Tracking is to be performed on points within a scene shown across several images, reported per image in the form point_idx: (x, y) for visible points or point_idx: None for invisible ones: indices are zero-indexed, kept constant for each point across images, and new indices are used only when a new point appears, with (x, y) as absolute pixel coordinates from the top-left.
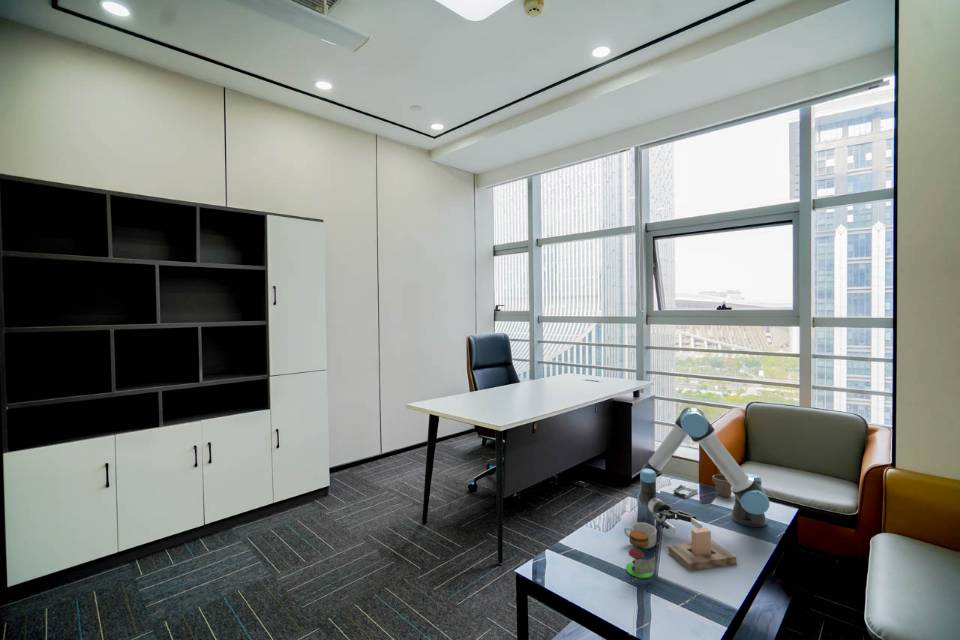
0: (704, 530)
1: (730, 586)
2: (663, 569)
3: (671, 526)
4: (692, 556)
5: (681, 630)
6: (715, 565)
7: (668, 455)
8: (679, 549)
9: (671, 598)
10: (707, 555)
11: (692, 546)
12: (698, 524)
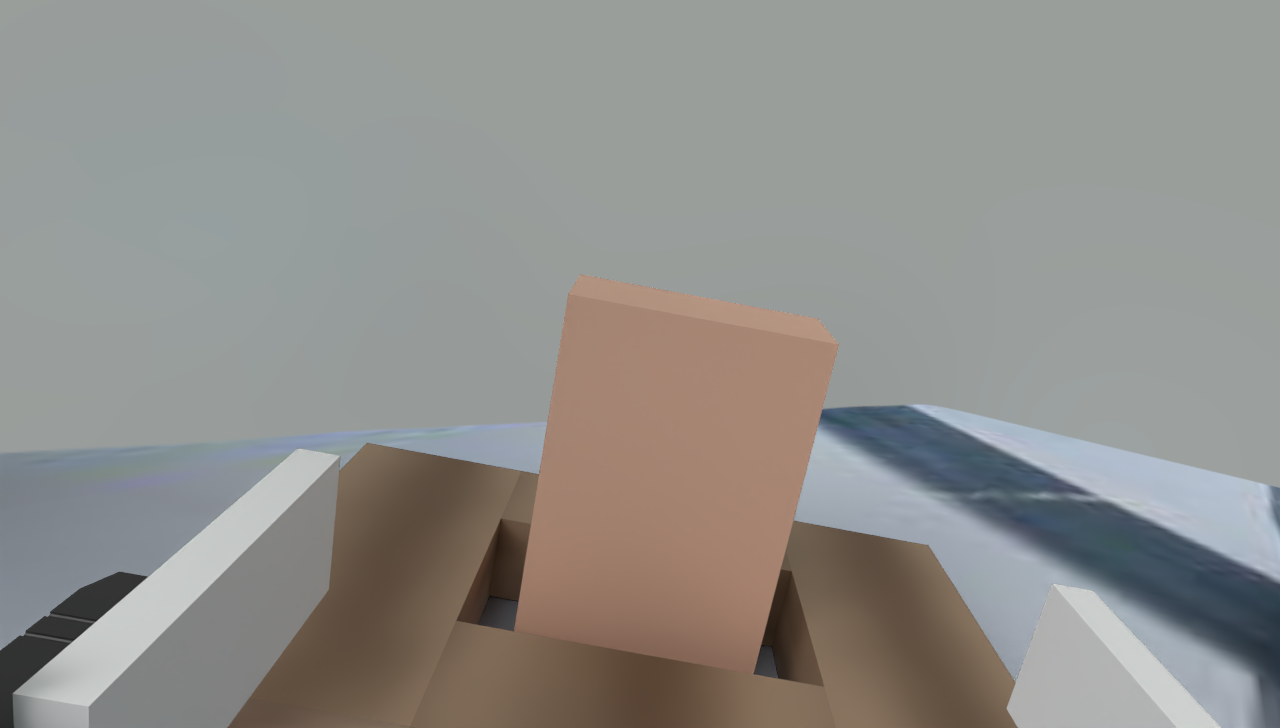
0: (655, 294)
1: None
2: None
3: (1136, 648)
4: (833, 581)
5: (1116, 450)
6: None
7: None
8: (942, 715)
9: (1142, 529)
10: None
11: (773, 579)
12: (302, 532)
